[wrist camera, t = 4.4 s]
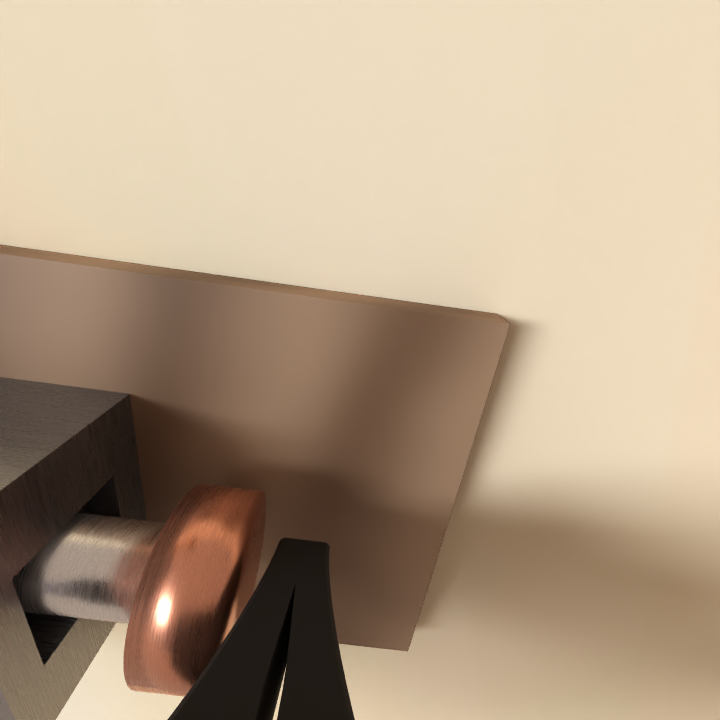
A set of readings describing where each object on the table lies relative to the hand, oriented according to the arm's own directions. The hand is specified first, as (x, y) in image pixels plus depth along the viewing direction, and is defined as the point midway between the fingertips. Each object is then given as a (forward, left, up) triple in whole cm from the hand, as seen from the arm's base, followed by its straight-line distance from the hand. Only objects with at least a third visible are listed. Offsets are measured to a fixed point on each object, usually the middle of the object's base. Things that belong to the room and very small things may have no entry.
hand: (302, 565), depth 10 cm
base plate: (-3, +4, -3) cm, 6 cm away
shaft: (-4, +5, -2) cm, 7 cm away
